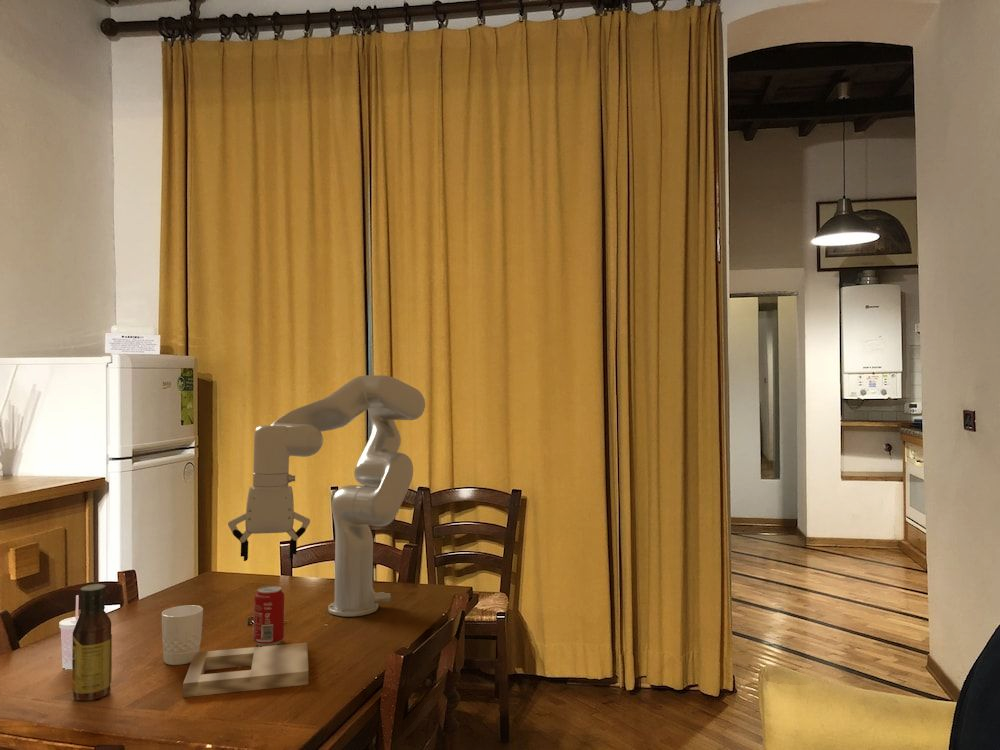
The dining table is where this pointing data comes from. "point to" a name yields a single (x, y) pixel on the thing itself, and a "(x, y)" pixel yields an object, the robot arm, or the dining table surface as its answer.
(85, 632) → the sauce bottle
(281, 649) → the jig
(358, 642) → the dining table surface
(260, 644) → the beverage can
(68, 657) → the beverage cup
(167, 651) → the white cup
